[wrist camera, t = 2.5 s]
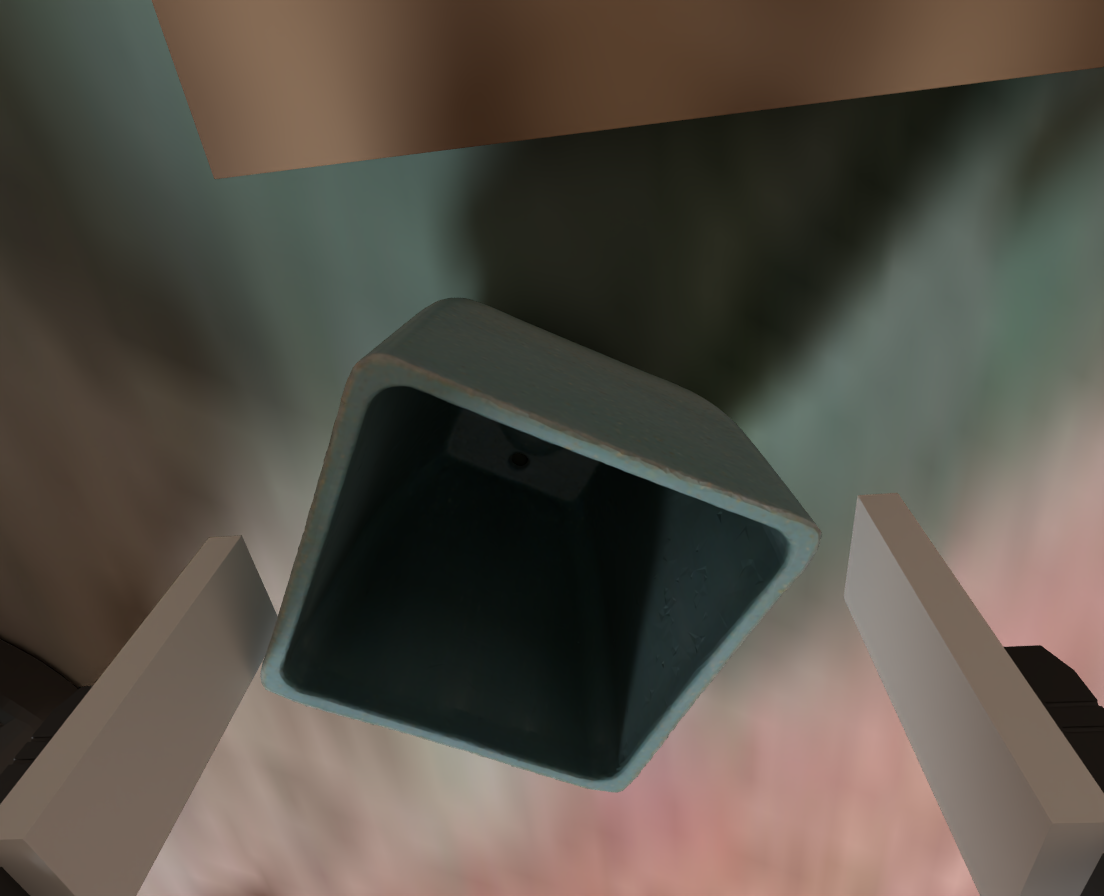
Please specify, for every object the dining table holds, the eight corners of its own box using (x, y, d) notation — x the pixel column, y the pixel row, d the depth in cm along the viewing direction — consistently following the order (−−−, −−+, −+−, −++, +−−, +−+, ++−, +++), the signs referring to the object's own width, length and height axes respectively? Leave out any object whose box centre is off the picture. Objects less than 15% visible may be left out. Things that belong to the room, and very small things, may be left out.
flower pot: (449, 219, 18) (353, 346, 10) (735, 343, 20) (839, 536, 12) (364, 471, 22) (251, 695, 14) (606, 556, 24) (620, 801, 16)
